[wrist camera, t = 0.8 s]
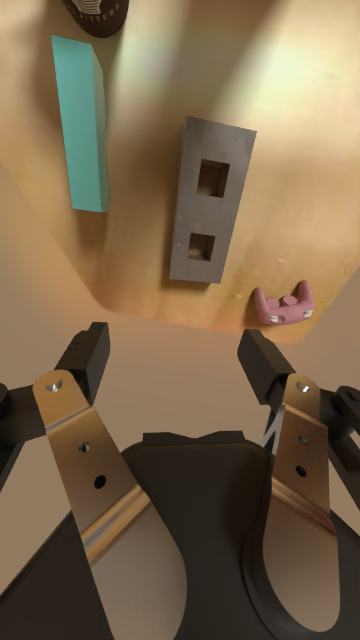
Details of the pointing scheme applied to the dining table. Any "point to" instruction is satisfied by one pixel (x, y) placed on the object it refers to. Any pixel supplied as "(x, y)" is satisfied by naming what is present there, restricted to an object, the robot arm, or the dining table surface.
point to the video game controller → (285, 306)
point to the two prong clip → (82, 122)
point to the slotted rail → (208, 197)
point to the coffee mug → (98, 15)
